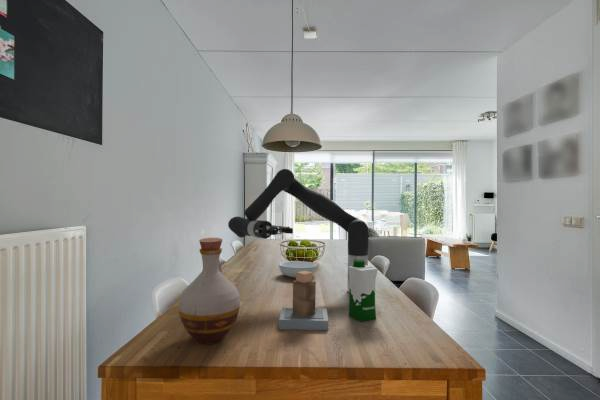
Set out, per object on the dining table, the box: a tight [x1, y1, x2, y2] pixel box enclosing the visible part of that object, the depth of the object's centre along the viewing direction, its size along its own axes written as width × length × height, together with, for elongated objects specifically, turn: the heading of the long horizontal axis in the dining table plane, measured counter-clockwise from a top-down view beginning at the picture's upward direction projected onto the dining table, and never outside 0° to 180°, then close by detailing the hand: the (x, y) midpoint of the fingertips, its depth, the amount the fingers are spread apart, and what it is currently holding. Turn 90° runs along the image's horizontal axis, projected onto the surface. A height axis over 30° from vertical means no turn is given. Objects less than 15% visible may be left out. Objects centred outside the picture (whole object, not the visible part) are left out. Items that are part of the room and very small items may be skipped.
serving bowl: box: [278, 260, 318, 279], centre depth 183 cm, size 21×21×7 cm
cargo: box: [295, 271, 314, 283], centre depth 113 cm, size 4×4×3 cm
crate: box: [292, 279, 317, 317], centre depth 113 cm, size 6×6×11 cm
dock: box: [278, 307, 329, 331], centre depth 112 cm, size 16×12×3 cm
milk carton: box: [347, 260, 378, 322], centre depth 119 cm, size 9×9×20 cm
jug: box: [178, 237, 241, 345], centre depth 99 cm, size 20×18×30 cm
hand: (284, 231), depth 130 cm, fingers open, 8 cm apart
